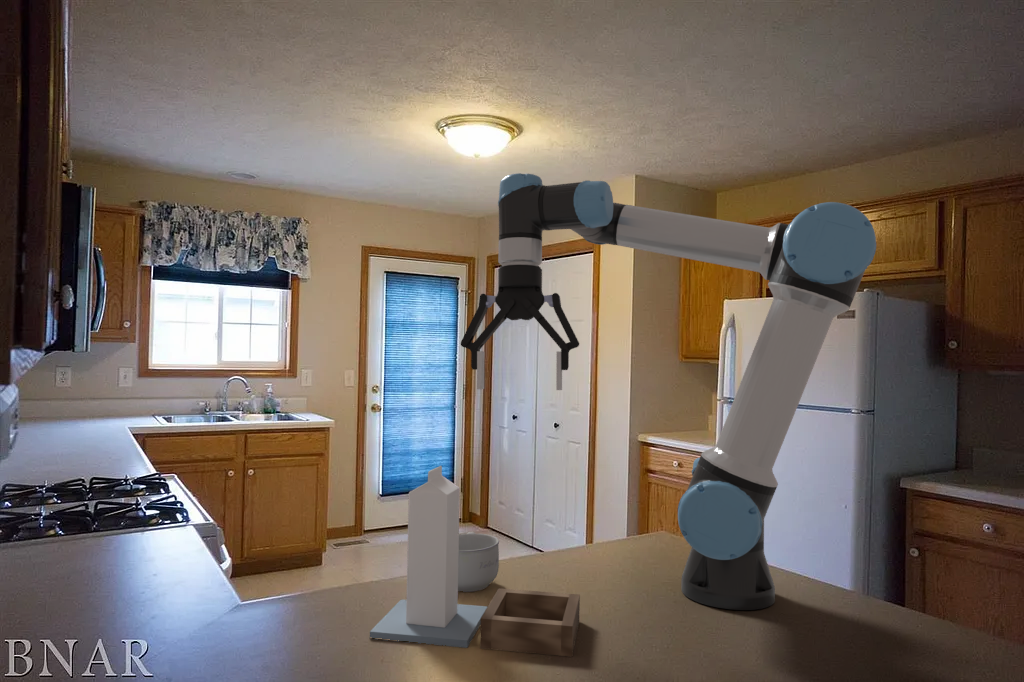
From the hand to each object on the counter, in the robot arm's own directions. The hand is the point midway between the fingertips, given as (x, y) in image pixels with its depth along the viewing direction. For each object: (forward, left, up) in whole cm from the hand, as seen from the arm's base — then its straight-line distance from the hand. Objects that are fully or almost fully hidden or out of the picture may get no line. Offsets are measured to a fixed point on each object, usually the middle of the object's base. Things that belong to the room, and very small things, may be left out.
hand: (519, 389), depth 116 cm
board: (+10, +17, -34) cm, 40 cm away
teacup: (+9, -2, -34) cm, 36 cm away
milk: (+10, +17, -33) cm, 39 cm away
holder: (-5, +17, -34) cm, 39 cm away
